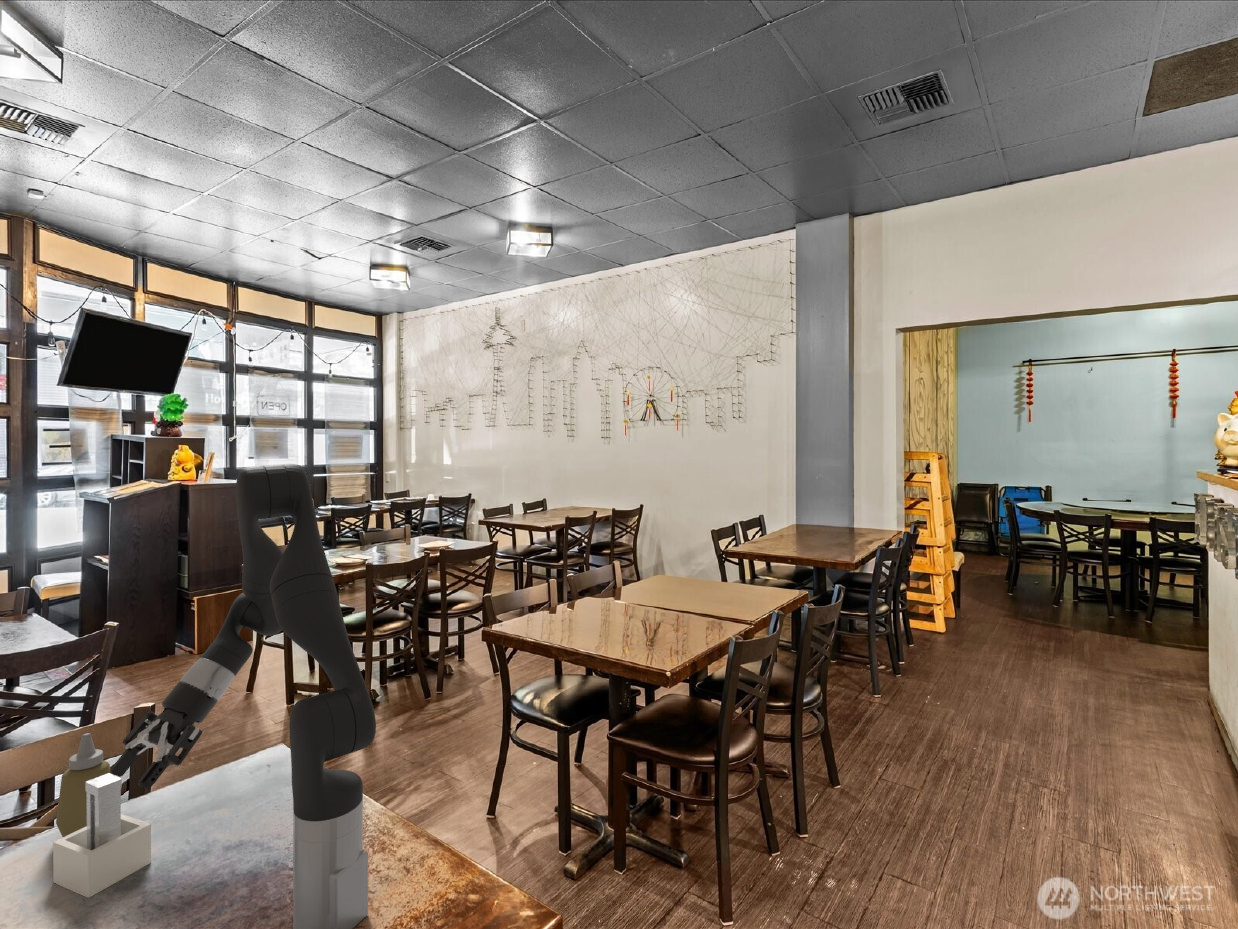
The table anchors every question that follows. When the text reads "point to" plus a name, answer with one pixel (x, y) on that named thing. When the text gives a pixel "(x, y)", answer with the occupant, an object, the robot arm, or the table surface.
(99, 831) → the grey arch block
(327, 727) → the robot arm
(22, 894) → the table surface
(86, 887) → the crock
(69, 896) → the table surface
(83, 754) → the squeeze bottle
